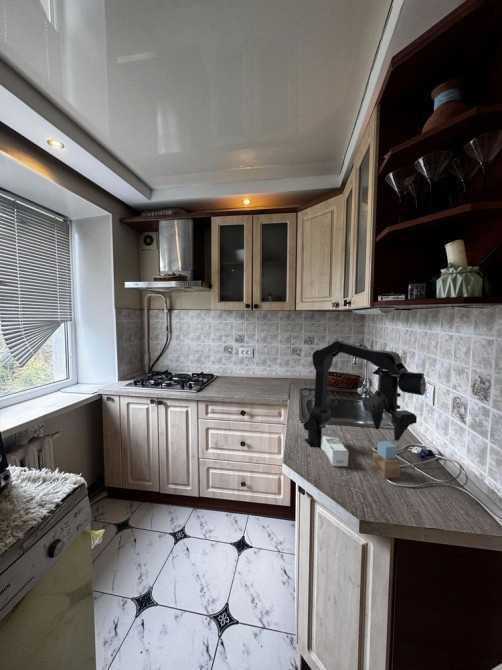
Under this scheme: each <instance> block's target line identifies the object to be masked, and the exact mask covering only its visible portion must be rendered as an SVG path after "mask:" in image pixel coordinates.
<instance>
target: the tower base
mask: <svg viewBox="0 0 502 670" xmlns="http://www.w3.org/2000/svg"><path fill="white" fill-rule="evenodd" d="M371 463H372V465H371V470H373V471H374V472H375V473H376V474H378V475H379V476H380V477H381V478H382V479H384V480H387V479H388V480H389V479H395V478H400V477H401V468H400V467H399V468H398V469H390V470H384V469H382V468H381V467H380V466H378V465H377V464H376V463H375V462H373V460H372V462H371Z"/></svg>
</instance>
